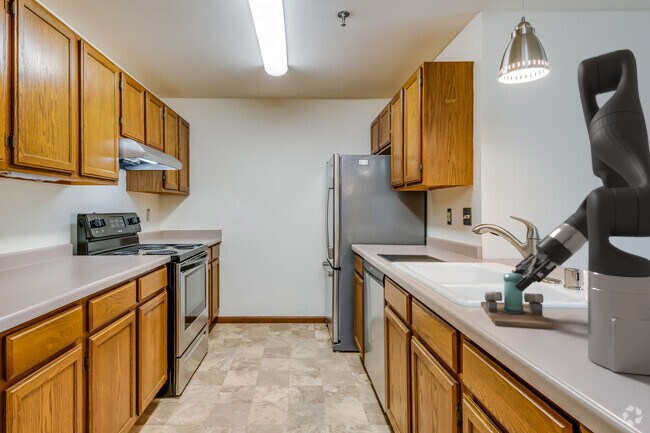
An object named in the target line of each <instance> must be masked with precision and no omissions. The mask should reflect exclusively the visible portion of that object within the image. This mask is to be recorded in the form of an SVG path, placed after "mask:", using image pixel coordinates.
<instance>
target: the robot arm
mask: <svg viewBox="0 0 650 433" xmlns="http://www.w3.org/2000/svg"><path fill="white" fill-rule="evenodd" d="M637 66H638V65H637V60H636V57H635V54H634V52H632V50H631V49H629V48H623V49H618V50H614V51H610V52H607V53H603V54H599V55H595V56H591V57H589V58H585V59H583V60H581V61H580V62H579V64H578V67H577V85H578V86H577V87H578V92H579V96H580V97H579V98H580V102H581V103H580V104H581V108H582V113H583V117H584V118H583V119H584V122H585V125H586V129H587V133H588V134H587V135H588V139H589V145H590V147H589V148H590V156H591V157H590V158H591V169H592V174H593V175H594V176H595V177H596V178H599V179H600V180H601V182H602V186H599V187H596V188H595V189H593V190H592V191H590V192H589V193H588V195H586V196H585V198H584V199H583V200H582V202H580V205H579V206H578V208H577V209H576V211H575V212H574V213H572V214H571V215H570V216H569V217H568V218H566V220H564V221H563V222H562V223H561V224H560V225H558V226H556V227H555V228H554V229H553V230H551V231H550V232H549V233H548V234H547V235H546V236H545V237H544V238H542V239H541V240H540V241H539V242H538V243H536V244H535V249H536V250H537V251H538V253H536V254H533V253H532V252H531V253H530V254H528V255H527V256H526V257H524V259H522V260H521V261H520V262H519V263H518V264H516V265H515V269H514V271H513V272H512V273H517V274H521V275H522V276H523V278H522V279H521V280H520V281H519V282H518V283H517V284H515V287H516V288H517V289H518V290H520V291H525V290H527V289H528V287H530V285H532V284H533V283H541V282H543V280H544V279H545V278H547V277H548V276H549V275H550V274H551V273H552V272H553V271H554V270H556V269H557V268H558V267H559V266H562V265H563V264H564V263H565V262H567V261H568V260H569V259H570V258H571V257H573V255H575V254H576V253H577V252H578V251H580V249H582V247H583V246H585V244H586V243H588V251H587V252H588V256H587V257H588V259H587V261H588V262H587V269H588V303H587V358H588V360H590V361H591V362H593V363H594V364H597V365H599V366H601V367H603V368H606V369H608V370H610V371H612V372H614V373H623V374H634V375H645V376H646V375H647V376H648V375H649V376H650V259H648V258H646V257H644V256H641V255H637V254H633V253H630V252H627V251H626V250H622V249H621V248H618V247H617V246H615V245H614V244H612V242H611V241H610V237H618V238H621V237H622V238H650V144H649V142H650V141H649V135H648V129H647V124H646V119H645V114H644V111H643V107H642V103H641V99H640V93H639V92H640V91H639V81H638V80H639V79H638V78H639V77H638V67H637ZM611 92H614V93H613V95H612V96H610V97H609V99H607V101H606V102H605V103H604V104H603V105H602V106H601V107H599V104H598V100H597V95H602V94H607V93H611Z"/></svg>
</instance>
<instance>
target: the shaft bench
mask: <svg viewBox="0 0 650 433" xmlns="http://www.w3.org/2000/svg"><path fill="white" fill-rule="evenodd" d="M502 301H503V294H502V291H484V301H481V302H480V306H481V307H482V309H483V311H484V312H485V313H486V315H487V316H488V317H489V319H490V320H491V321H492V323H493V325H494V326H500V327H501V326H502V327H514V328H515V327H518V328H532V329H533V328H536V329H546V330H547V329H548V330H550V329H552V330H553V329H554V323H553V322H551V321H550V320H549V319H548V318H547V317H545V316H544V314H543V303H544V294H542V293H534V292H533V293H528V292H524V294H523V301H524V302H525V303H523V312H522V313H511V312H507V311H505V310H504V302H502Z"/></svg>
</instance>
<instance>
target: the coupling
mask: <svg viewBox="0 0 650 433" xmlns="http://www.w3.org/2000/svg"><path fill="white" fill-rule="evenodd" d="M523 277H524V276H522V275H521V274H517V273H513V272H505V273H504V274H503V283H504V284H503V288H504V289H503V292H504V294H503V296H504V297H503V298H504V299H503V300H504V302H503V303H504V310H505V311H507V312H511V313H522V312H523V304H524V302H523V301H524V294H523V291H520V290H518V289H517V288H516V287H515V284H517V283H518V282H519V281H520V280H521V279H522V278H523Z"/></svg>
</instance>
